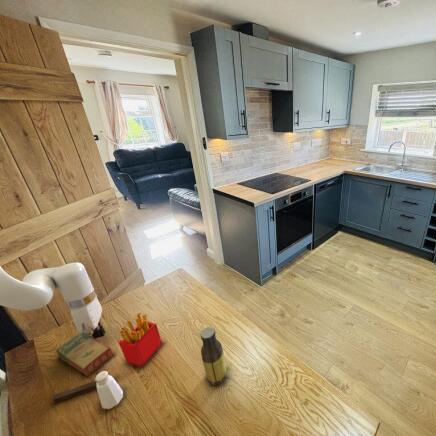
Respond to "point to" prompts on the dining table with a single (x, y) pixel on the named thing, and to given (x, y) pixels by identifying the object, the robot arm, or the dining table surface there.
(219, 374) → the sauce bottle
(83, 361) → the carton
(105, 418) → the dining table surface
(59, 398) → the rail
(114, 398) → the pepper shaker
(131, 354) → the french fries container
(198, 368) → the dining table surface
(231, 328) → the dining table surface
